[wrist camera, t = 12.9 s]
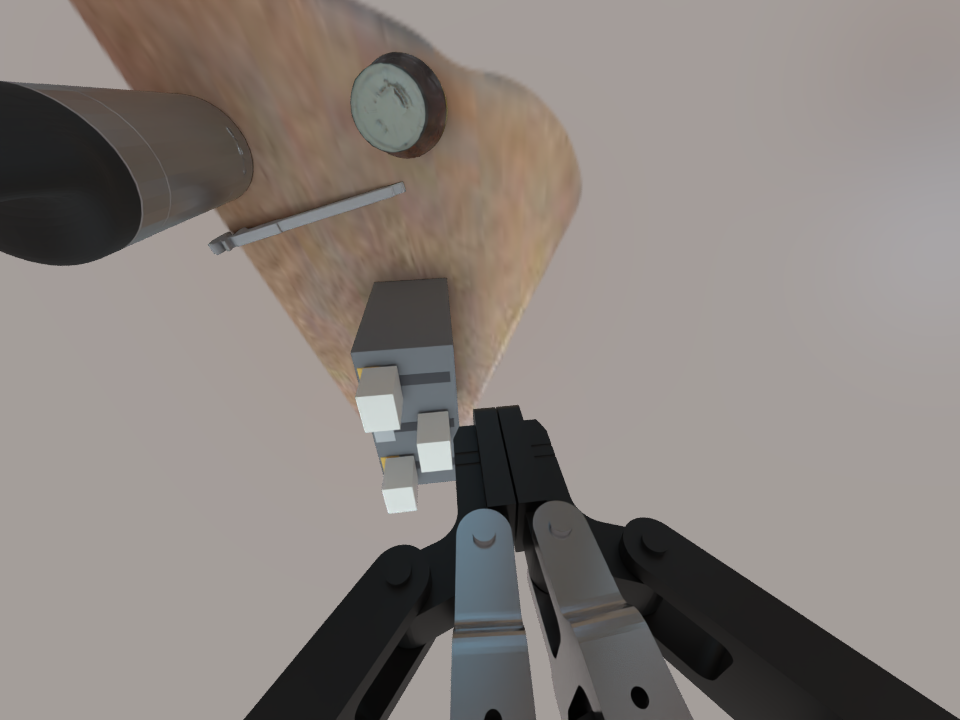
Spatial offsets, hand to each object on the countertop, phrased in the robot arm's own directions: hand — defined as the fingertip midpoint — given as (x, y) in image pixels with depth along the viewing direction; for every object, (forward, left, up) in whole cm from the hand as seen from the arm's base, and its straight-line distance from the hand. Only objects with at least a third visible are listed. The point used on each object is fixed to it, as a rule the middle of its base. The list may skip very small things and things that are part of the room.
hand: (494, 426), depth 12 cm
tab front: (-8, -12, -19) cm, 23 cm away
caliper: (-15, 0, -36) cm, 38 cm away
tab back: (-8, -24, -19) cm, 31 cm away
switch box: (-6, -18, -35) cm, 40 cm away
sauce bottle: (-3, +9, -35) cm, 36 cm away
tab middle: (-4, -18, -19) cm, 26 cm away
